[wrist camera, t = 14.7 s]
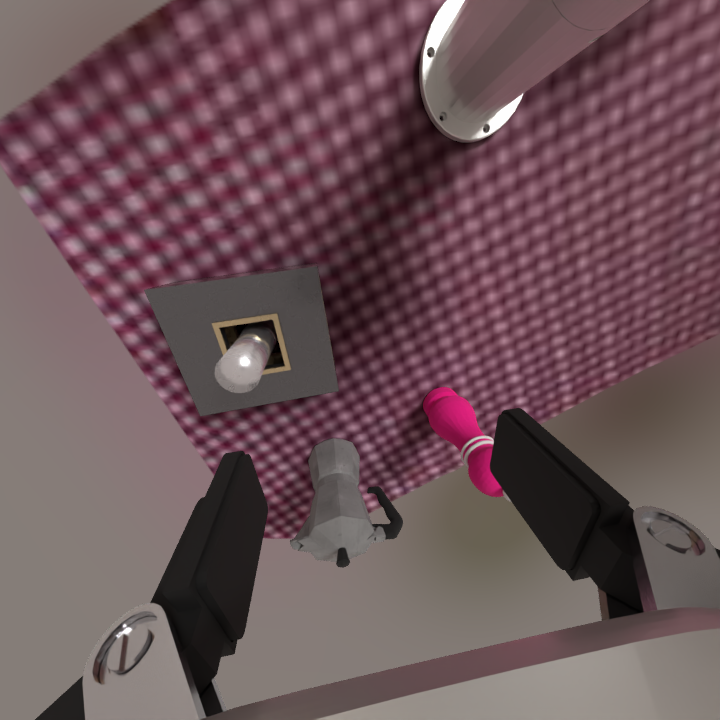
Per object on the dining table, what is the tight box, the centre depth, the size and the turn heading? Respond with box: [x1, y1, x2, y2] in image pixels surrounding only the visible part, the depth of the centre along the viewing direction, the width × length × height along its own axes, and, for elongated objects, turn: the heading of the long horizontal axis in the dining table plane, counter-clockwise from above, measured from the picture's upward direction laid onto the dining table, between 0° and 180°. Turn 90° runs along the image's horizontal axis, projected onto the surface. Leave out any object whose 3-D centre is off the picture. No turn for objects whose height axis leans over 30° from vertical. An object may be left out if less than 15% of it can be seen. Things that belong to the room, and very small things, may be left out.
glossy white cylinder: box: [215, 320, 277, 393], centre depth 31 cm, size 4×4×14 cm
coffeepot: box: [290, 438, 403, 567], centre depth 40 cm, size 15×9×18 cm, turn 89°
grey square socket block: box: [144, 263, 339, 416], centre depth 34 cm, size 18×16×7 cm
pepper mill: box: [423, 387, 511, 502], centre depth 38 cm, size 7×7×20 cm
